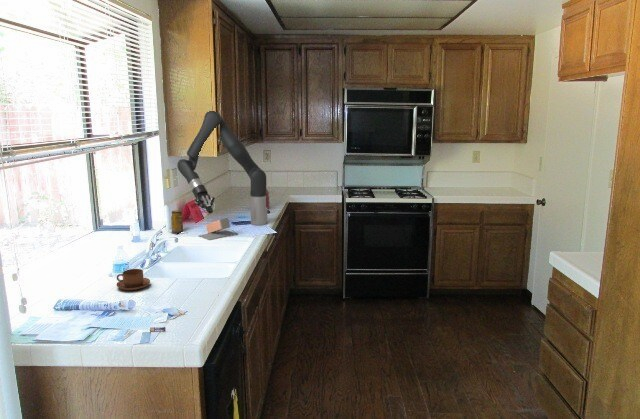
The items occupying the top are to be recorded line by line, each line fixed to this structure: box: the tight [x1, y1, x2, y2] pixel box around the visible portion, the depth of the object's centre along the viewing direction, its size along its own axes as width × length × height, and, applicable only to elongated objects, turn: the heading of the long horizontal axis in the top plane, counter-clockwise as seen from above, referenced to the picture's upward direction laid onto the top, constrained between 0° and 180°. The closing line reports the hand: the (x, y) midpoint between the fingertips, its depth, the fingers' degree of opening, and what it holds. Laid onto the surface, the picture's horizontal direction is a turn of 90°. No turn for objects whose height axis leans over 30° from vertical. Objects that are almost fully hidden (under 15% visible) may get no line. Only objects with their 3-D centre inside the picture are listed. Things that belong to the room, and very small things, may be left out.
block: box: [205, 217, 231, 234], centre depth 264 cm, size 5×5×15 cm
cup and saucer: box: [116, 268, 151, 291], centre depth 184 cm, size 12×12×6 cm
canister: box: [266, 186, 270, 210], centre depth 337 cm, size 13×13×18 cm
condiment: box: [169, 209, 188, 235], centre depth 268 cm, size 7×8×12 cm
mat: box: [197, 229, 238, 241], centre depth 263 cm, size 18×11×1 cm, turn 136°
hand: (211, 212), depth 267 cm, fingers closed
